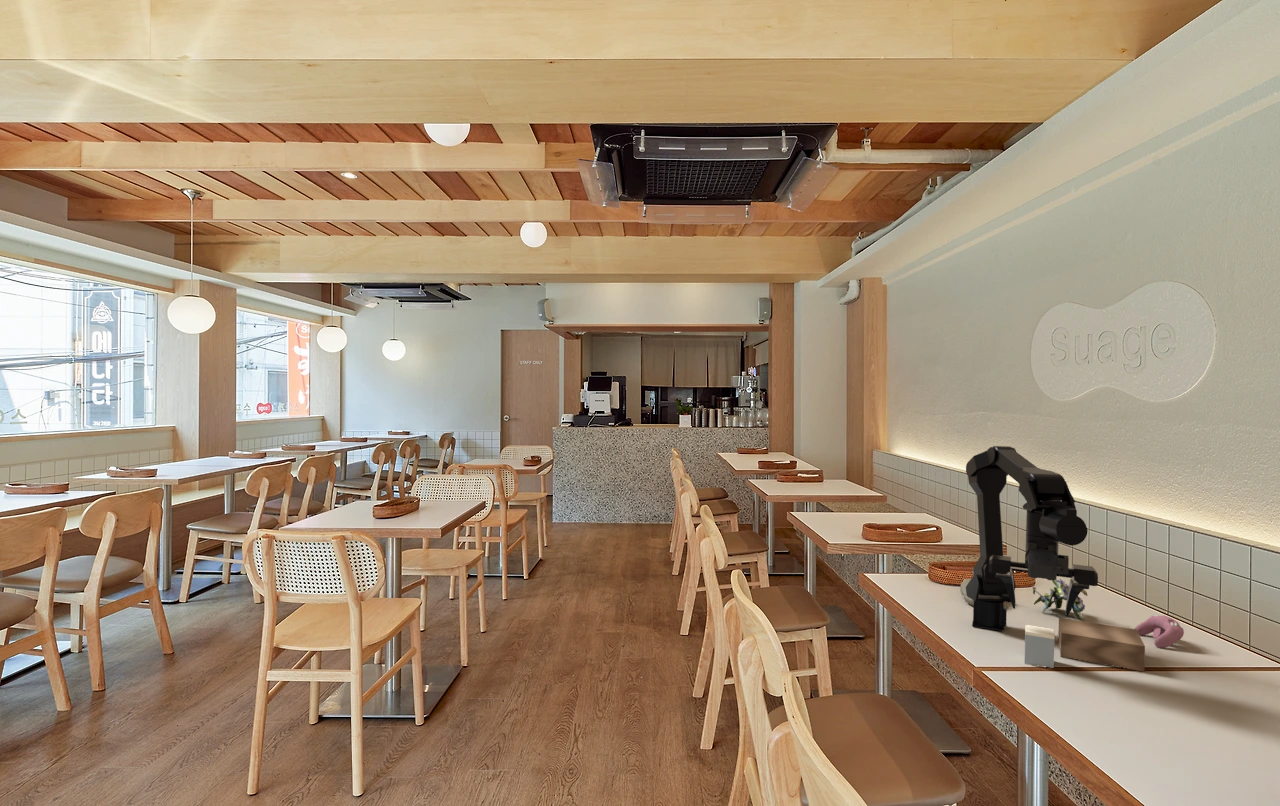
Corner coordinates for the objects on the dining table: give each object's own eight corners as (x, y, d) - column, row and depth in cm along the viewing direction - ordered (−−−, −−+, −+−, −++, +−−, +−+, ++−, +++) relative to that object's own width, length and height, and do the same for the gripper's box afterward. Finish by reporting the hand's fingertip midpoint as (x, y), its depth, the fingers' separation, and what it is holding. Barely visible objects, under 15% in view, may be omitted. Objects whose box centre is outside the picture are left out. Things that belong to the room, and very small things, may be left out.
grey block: (1024, 663, 136) (1025, 631, 136) (1024, 656, 141) (1025, 624, 141) (1053, 669, 134) (1054, 636, 134) (1052, 661, 138) (1053, 629, 138)
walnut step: (1060, 656, 140) (1061, 632, 140) (1058, 640, 151) (1058, 617, 151) (1144, 671, 134) (1145, 646, 134) (1135, 652, 144) (1136, 629, 144)
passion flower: (1077, 640, 167) (1096, 609, 160) (1028, 626, 171) (1045, 596, 163) (1072, 604, 176) (1090, 574, 169) (1025, 592, 179) (1041, 562, 172)
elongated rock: (997, 586, 202) (960, 583, 206) (997, 568, 202) (960, 566, 206) (1004, 611, 170) (960, 607, 175) (1003, 590, 171) (959, 586, 175)
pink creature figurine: (1175, 657, 146) (1192, 629, 146) (1154, 645, 147) (1171, 618, 147) (1150, 641, 156) (1167, 615, 156) (1131, 631, 157) (1147, 605, 156)
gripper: (988, 535, 135) (986, 614, 135) (1101, 548, 126) (1099, 632, 126) (991, 527, 145) (989, 600, 145) (1096, 538, 135) (1094, 616, 135)
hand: (1040, 612), depth 137 cm, fingers open, 9 cm apart
